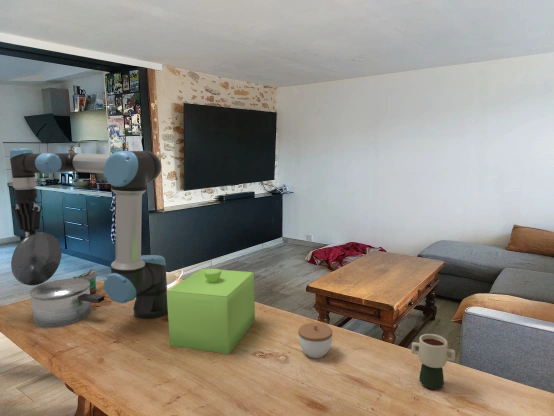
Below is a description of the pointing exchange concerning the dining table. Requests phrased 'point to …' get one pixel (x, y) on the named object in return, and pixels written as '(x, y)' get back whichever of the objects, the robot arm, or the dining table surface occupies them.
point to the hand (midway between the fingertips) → (31, 247)
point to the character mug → (432, 359)
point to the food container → (90, 280)
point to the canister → (211, 310)
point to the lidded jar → (315, 339)
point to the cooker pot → (62, 302)
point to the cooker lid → (36, 258)
